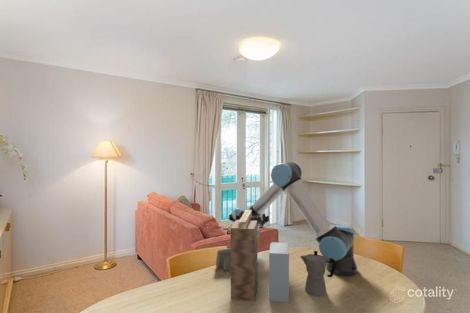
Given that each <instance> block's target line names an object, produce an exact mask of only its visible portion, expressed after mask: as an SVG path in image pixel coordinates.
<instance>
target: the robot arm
mask: <svg viewBox="0 0 470 313" xmlns="http://www.w3.org/2000/svg"><path fill="white" fill-rule="evenodd" d="M270 172H271V173H270V176H271V178H270V179H271V181H272V182H273V184H271V186H270V187H269V188H268V189H267V190H266V191H265V192H264V193H263V194H262V195H261V196H260V197H259V198H258V199H257V200H255V202H254V203H253V204H252V205H251V206H249V208H247V209H241V208H240V207H237V208H235V209H232V212H231V213H230V214H229V215H228V220H230V221H231V222H233V223H234V222H235V221H236V220H240V218H241V217H242V215H243V214H244V212H245V210H252V217H251V219H250V220H251V221H257V238H258V237H259V236H260V234H261V228H260V226H264V225H265V224H267V223H269V222H270V216H269V215H266V214H265V213H264V212H265V210H267V209H268V208H269V207H270V206H271V205H272V204H273V203H274V202H275V201H277V199H278V198H279V197H280V196H281V195H282V194H283V193H286V194H287V193H288V195H289V197H290V198H291V200H292V201H293V203H294V204H295V206H296V207H297V208H298V210H299V211H300V213H301V214H302V216H303V217H304V219H305V220H306V222H307V223H308V225H309V226H310V227H311V229H312V230H313V232H314V234H315V235H314V236H315V237H314V239H315V240H316V241H317V243H318V250H319V252H320V255H322V256H324V257H325V258H333V259H334V260H335V261H336V262H337V266H336V269H335V271H334V274H335V275H339V276H345V277H346V276H347V277H349V276H355V275H356V274H357V273H358V266H357V262H356V260H355V256H354V252H355V251H354V248H355V247H354V244H355V243H354V242H355V241H354V237H355V236H354V234H355V232H354V227H352V226H350V225H344V224H342V225H341V224H332V223H330V221H329V220H328V218H326V216H325V214H324V213H323V211H322V210H321V209H320V207H319V206H318V204H316V202H315V200H314V199H313V198H312V196H311V194H310V193H309V192H308V190H306V188H305V187H304V185H303V178H302V173H303V171H302V168H301V167H300V165H298V164H297V163H295V162H292V161H291V162H280V163H278V164H276V165H274V166H273V167H272V168H271V171H270ZM259 225H260V226H259ZM332 265H333V263H326V268H325V269H327V271H328V272H330V271H331V269H332ZM334 274H333V275H334Z"/></svg>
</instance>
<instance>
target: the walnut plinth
mask: <svg viewBox="0 0 470 313" xmlns="http://www.w3.org/2000/svg"><path fill="white" fill-rule="evenodd" d="M238 222H239V220H236V221H235V222H233V224H232V225H231V226H230V248H231V270H230V300H237V301H249V302H256V301H255V300H256V295H257V290H258V284H259V283H258V237H257V221H251V220H250V221H249V223H248V225H247V227H246V229H238Z"/></svg>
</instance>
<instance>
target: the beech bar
mask: <svg viewBox="0 0 470 313" xmlns="http://www.w3.org/2000/svg"><path fill="white" fill-rule="evenodd" d="M244 210H245V212H244V214H243V215H242V217H241V218H240V220H239V222H238V229H246V227H247V225H248V223H249V221H250V219H251V217H252V210H247V209H244Z"/></svg>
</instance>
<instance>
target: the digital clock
mask: <svg viewBox="0 0 470 313" xmlns="http://www.w3.org/2000/svg"><path fill="white" fill-rule="evenodd" d="M215 267H216V268H223V270H224V271H225V272H227V271H231V247H228V248H227V247H226V248H220V249H218V250H217V251H216V261H215Z"/></svg>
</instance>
